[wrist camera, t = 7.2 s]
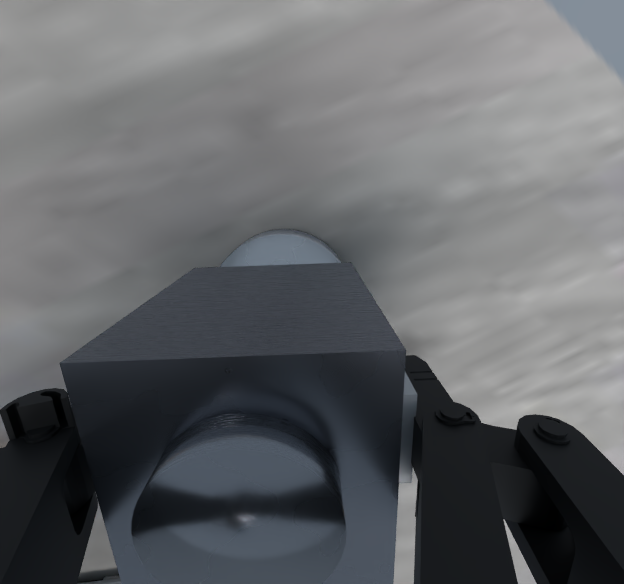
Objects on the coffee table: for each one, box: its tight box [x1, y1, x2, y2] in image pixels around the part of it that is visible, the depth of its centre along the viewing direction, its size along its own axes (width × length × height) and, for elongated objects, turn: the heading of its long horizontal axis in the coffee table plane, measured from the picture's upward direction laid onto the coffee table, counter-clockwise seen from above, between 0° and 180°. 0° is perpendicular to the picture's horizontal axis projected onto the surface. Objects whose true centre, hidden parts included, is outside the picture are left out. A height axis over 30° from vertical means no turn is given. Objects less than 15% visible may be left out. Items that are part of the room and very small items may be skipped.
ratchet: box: [220, 229, 341, 267], centre depth 21 cm, size 8×26×6 cm, turn 2°
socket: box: [60, 262, 406, 584], centre depth 11 cm, size 6×6×9 cm
